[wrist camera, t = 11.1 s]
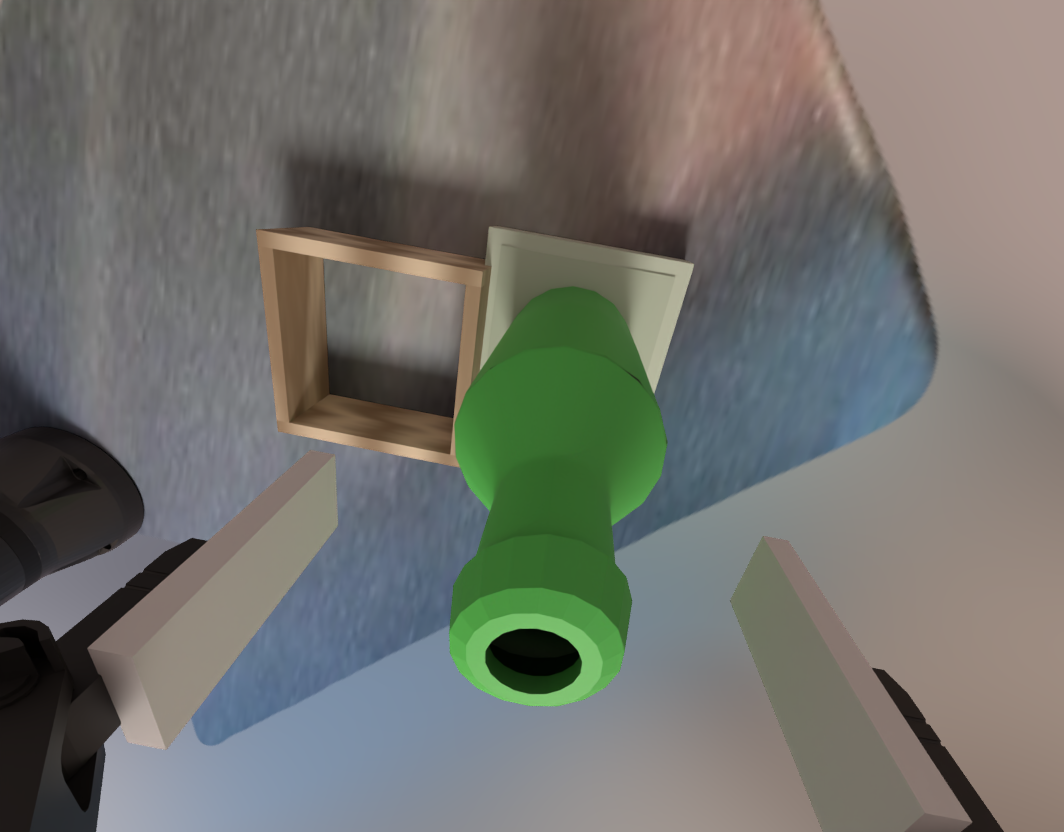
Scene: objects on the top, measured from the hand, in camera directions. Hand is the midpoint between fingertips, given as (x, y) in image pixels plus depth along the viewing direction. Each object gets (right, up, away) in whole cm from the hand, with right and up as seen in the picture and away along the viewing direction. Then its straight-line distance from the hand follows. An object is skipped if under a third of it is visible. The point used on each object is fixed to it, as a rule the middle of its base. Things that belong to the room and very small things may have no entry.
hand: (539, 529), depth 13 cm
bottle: (+3, +9, +19) cm, 21 cm away
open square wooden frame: (-11, +10, +23) cm, 28 cm away
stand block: (+3, +10, +21) cm, 24 cm away
